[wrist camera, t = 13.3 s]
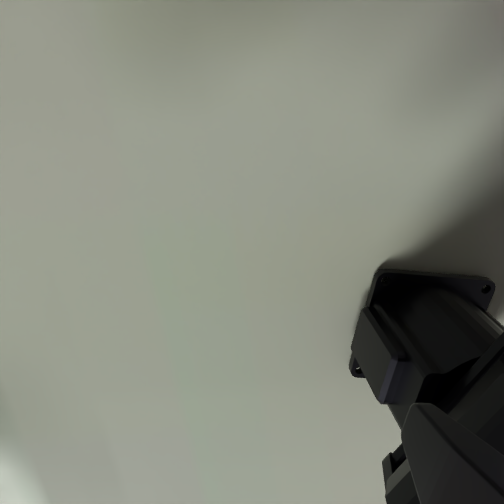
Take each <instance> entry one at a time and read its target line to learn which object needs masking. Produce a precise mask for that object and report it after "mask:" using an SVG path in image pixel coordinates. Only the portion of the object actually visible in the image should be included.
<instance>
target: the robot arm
mask: <svg viewBox="0 0 504 504" xmlns="http://www.w3.org/2000/svg"><path fill="white" fill-rule="evenodd" d="M384 277H388V279H387V280H386V281H385V282H381V280H382V279H383V278H384ZM485 285H486V287H485V288H484V289H483V290H482V288H483V287H484V286H485ZM495 287H496V286H495V283H494V282H493V281H491V280H490V279H489V278H486V277H477V276H465V275H454V274H442V273H430V272H418V271H406V270H395V269H381V270H379V271H378V272H376V273H375V275H374V278H373V281H372V285H371V288H370V292H369V295H368V299H367V303H366V306H365V307H364V308H363V309H362V310H361V313H360V316H359V320H358V323H357V327H356V331H355V334H354V338H353V341H352V345H351V350H352V356H351V359H350V363H349V369H350V372H351V374H352V375H353V376H354V377H357V378H366V379H367V381H368V383H369V385H370V387H371V389H372V391H373V393H374V395H375V397H376V399H377V400H378V401H379V402H380V404H387V405H388V407H389V409H390V410H391V412H392V414H393V416H394V418H395V420H396V422H397V423H398V425H399V427H400V429H401V439H402V444H401V445H400V446H399V447H398V448H397V449H396V450H395V451H394V452H393V453H391V452H390V453H389V454H388V455H387V456H386V457H385V458H384V460H383V461H382V466H383V474H384V482H385V490H386V494H385V498H386V502H387V504H504V326H503V325H501V324H500V323H499V322H498V321H497V320H496V319H495V318H494V317H493V316H491V315H490V314H489V313H488V312H487V308H488V306H489V303H490V301H491V298H492V296H493V294H494V291H495ZM358 367H360V368H359V369H356V368H358Z"/></svg>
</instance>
